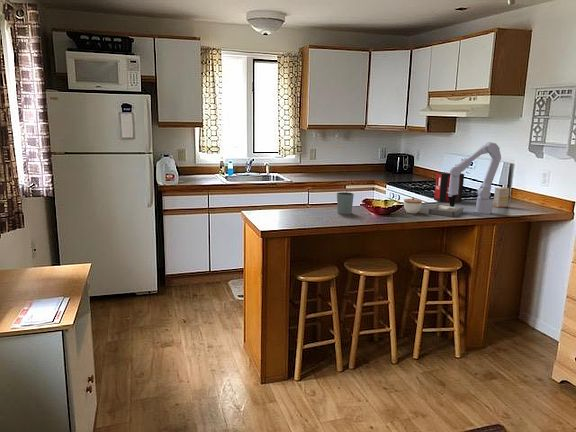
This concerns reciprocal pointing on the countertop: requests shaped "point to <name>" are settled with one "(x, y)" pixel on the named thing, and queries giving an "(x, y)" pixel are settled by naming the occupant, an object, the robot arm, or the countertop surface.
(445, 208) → the t block
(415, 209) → the lidded jar
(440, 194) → the cleaning product box
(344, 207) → the grey cup
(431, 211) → the bay
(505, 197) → the supplement box
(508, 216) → the countertop surface
